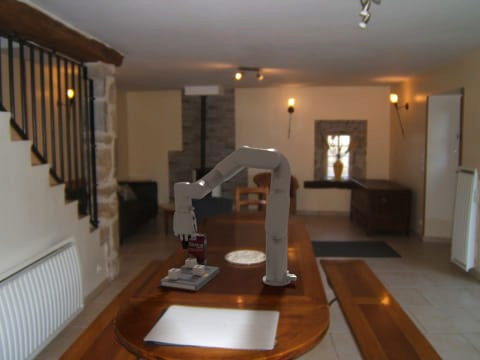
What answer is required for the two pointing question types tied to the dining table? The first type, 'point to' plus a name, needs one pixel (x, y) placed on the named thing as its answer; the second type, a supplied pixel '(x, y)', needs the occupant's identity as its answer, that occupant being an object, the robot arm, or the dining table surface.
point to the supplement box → (198, 249)
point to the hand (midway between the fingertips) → (185, 248)
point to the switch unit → (190, 278)
